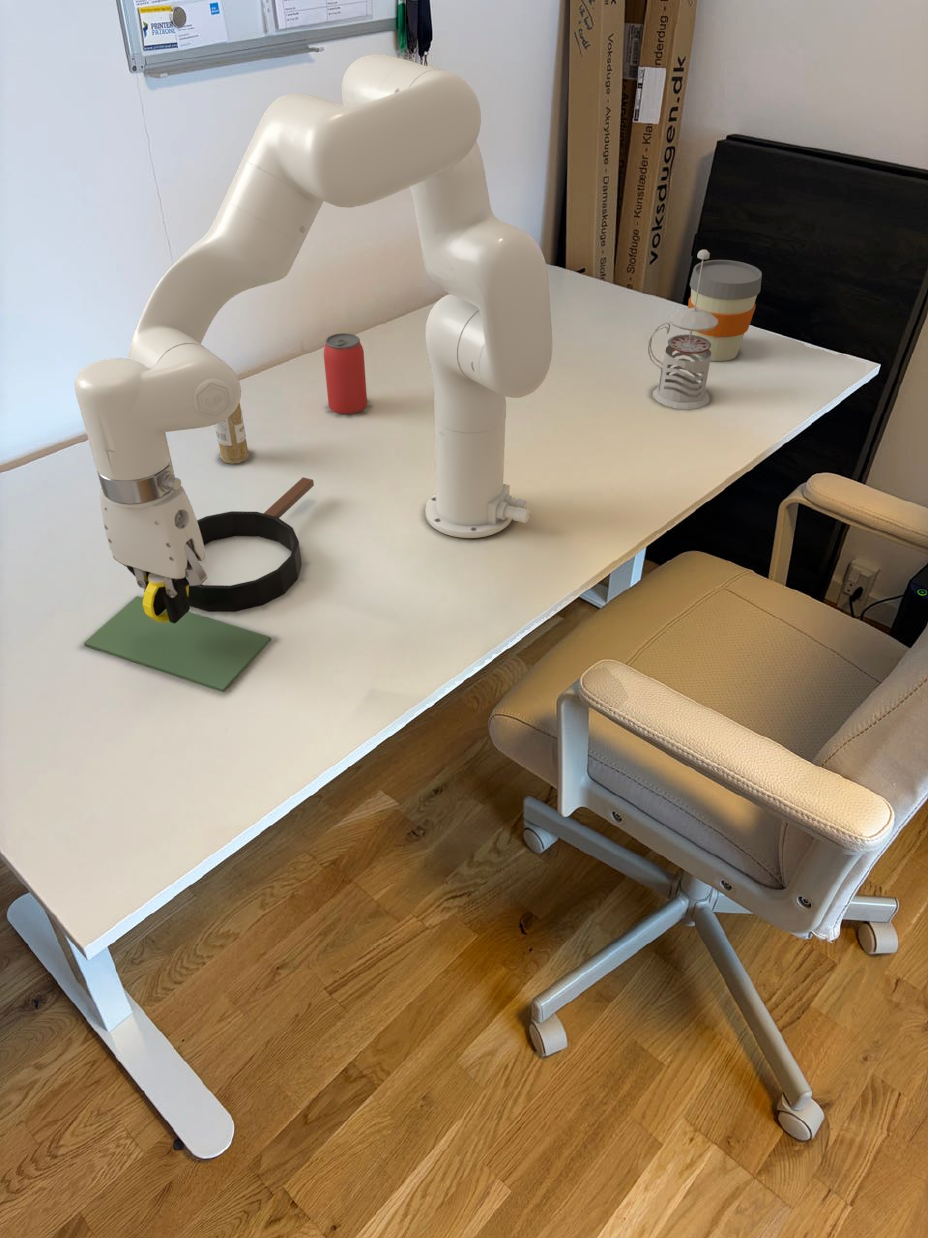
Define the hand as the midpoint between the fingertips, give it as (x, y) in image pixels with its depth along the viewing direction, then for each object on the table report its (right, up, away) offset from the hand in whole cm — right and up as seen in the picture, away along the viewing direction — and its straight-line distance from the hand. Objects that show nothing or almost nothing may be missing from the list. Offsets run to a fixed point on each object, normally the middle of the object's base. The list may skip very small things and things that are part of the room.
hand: (170, 612), depth 112 cm
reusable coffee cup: (+82, +50, +68) cm, 117 cm away
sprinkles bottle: (-1, +24, +37) cm, 45 cm away
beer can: (+15, +35, +50) cm, 63 cm away
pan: (+6, +9, +18) cm, 21 cm away
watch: (0, 0, 0) cm, 1 cm away
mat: (0, -4, +3) cm, 5 cm away
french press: (+71, +38, +54) cm, 97 cm away
